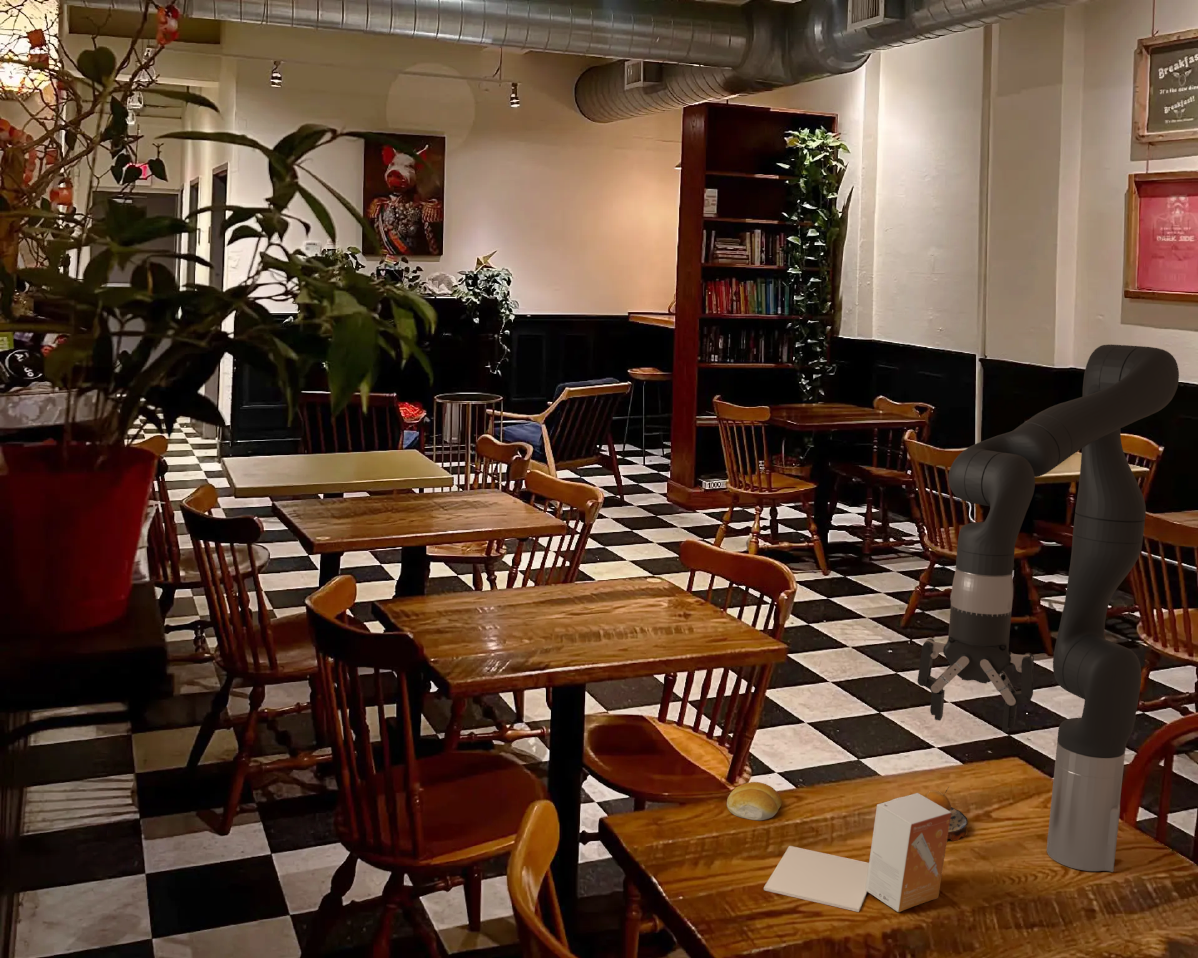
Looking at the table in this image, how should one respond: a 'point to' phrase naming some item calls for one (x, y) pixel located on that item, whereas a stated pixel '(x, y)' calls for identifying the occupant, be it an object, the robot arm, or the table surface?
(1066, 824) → the robot arm
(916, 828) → the small box
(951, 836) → the burger
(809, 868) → the mat
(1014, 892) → the table surface
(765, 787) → the bread roll
